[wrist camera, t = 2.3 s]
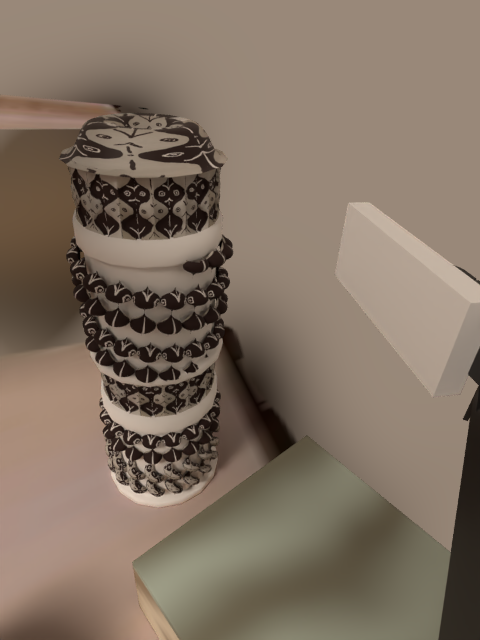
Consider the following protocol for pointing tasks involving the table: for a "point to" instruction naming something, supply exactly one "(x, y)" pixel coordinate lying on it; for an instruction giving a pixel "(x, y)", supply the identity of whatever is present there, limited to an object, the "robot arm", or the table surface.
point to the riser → (296, 562)
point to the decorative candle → (151, 295)
